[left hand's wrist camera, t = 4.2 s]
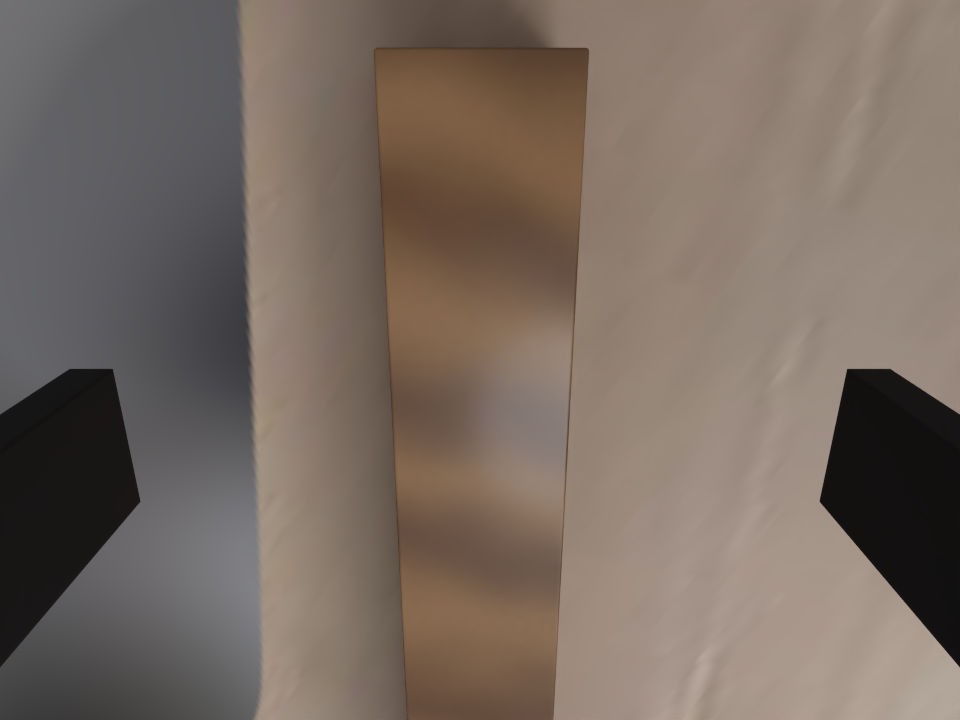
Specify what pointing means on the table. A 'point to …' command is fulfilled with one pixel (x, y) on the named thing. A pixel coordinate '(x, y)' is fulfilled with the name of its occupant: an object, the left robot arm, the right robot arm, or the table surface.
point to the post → (480, 362)
